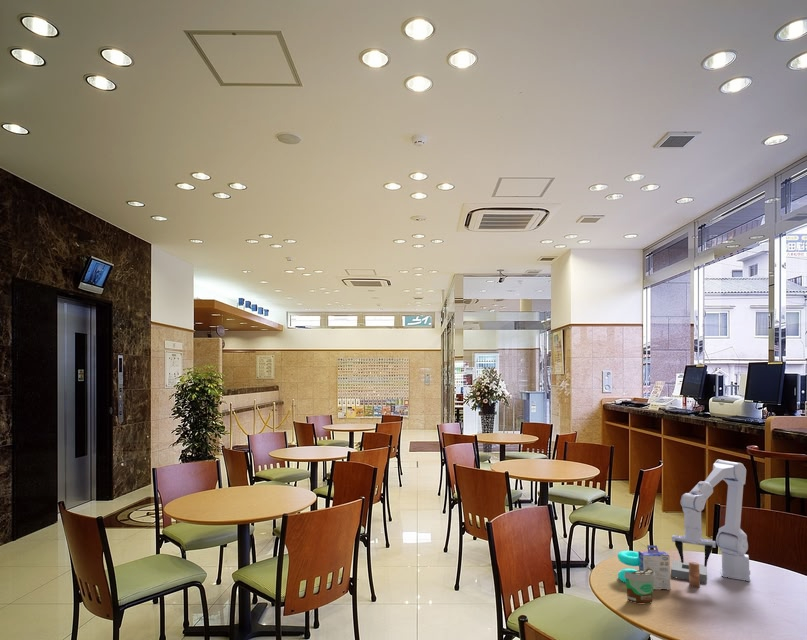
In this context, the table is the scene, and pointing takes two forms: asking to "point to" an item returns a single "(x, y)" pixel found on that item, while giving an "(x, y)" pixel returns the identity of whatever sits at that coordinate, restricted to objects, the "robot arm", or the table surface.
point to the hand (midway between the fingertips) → (693, 564)
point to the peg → (694, 574)
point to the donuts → (628, 562)
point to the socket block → (687, 571)
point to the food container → (640, 585)
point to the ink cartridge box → (656, 566)
